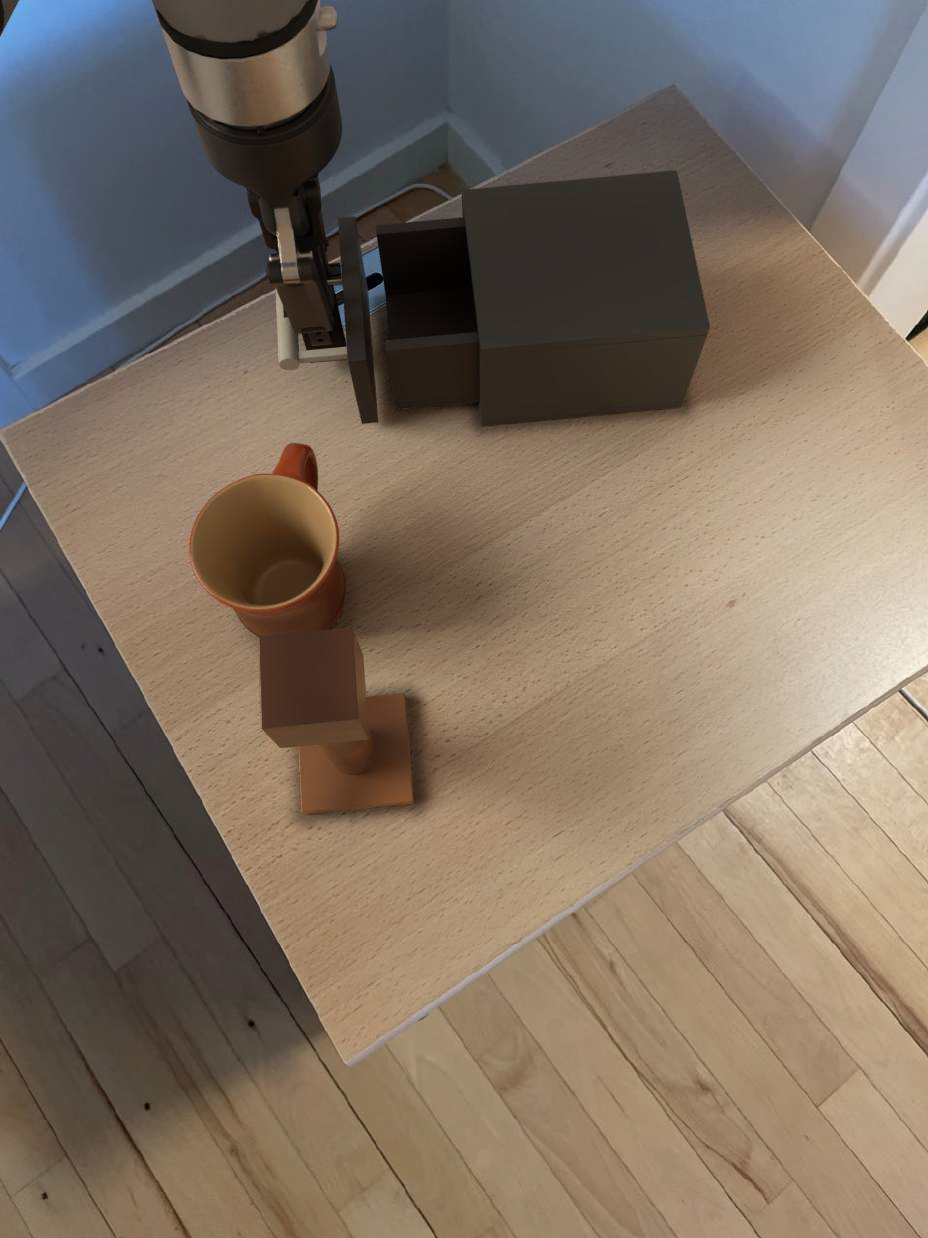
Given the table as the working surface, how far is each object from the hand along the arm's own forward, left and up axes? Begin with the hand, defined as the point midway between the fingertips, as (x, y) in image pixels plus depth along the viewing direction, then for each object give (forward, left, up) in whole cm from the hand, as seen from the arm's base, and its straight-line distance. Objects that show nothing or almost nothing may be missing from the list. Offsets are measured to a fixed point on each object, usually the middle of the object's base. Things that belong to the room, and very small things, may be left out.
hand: (328, 352), depth 71 cm
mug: (+8, -15, -2) cm, 17 cm away
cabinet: (+14, +11, -2) cm, 18 cm away
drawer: (+5, +4, -1) cm, 6 cm away
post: (+18, -23, -2) cm, 29 cm away
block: (+18, -23, +12) cm, 32 cm away
